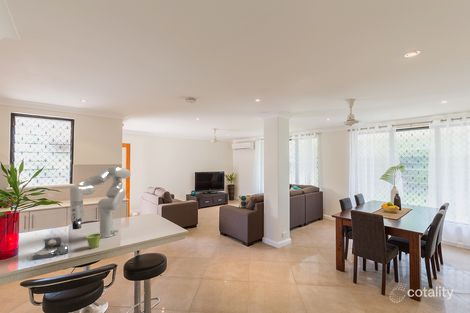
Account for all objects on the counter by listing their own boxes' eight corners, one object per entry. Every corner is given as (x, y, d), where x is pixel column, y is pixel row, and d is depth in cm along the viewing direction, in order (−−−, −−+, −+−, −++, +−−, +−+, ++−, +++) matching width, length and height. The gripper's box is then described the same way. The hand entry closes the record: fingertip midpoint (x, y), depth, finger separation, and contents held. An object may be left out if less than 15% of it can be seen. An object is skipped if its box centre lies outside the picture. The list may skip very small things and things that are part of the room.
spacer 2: (82, 226, 160) (82, 220, 160) (79, 229, 155) (79, 222, 155) (74, 227, 159) (74, 220, 159) (71, 229, 154) (71, 222, 154)
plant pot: (86, 246, 160) (86, 235, 160) (101, 243, 165) (100, 232, 165) (86, 251, 152) (86, 238, 152) (101, 247, 158) (101, 235, 158)
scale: (44, 250, 154) (44, 238, 154) (63, 248, 158) (62, 236, 158) (32, 260, 140) (32, 247, 140) (52, 257, 143) (52, 244, 143)
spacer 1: (69, 251, 152) (69, 244, 152) (66, 254, 147) (66, 247, 147) (60, 252, 150) (60, 245, 150) (57, 255, 145) (57, 248, 145)
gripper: (77, 205, 150) (77, 231, 150) (87, 200, 166) (87, 224, 166) (64, 206, 148) (65, 232, 148) (76, 201, 164) (76, 224, 164)
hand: (77, 227), depth 157 cm, fingers closed on spacer 2, 5 cm apart
